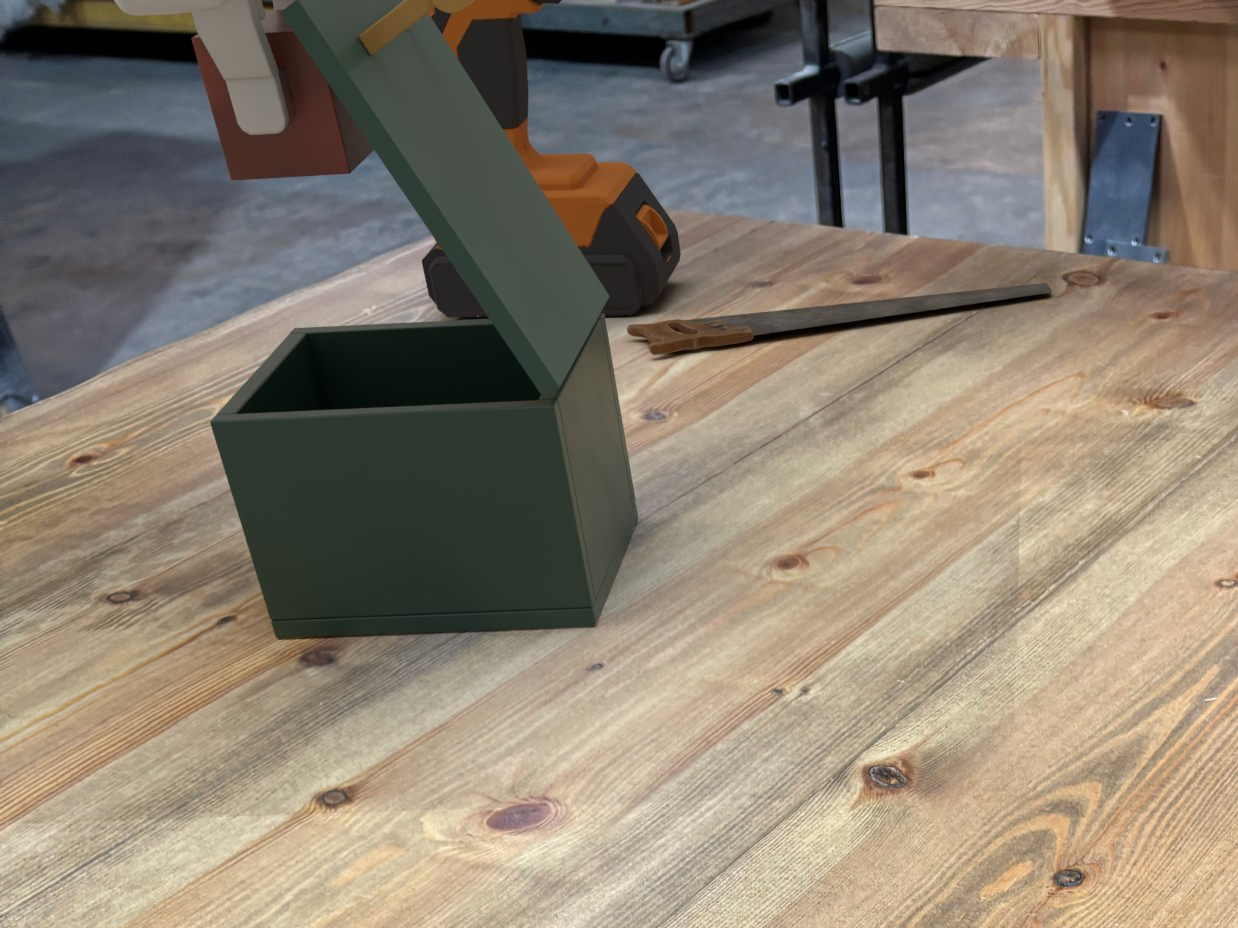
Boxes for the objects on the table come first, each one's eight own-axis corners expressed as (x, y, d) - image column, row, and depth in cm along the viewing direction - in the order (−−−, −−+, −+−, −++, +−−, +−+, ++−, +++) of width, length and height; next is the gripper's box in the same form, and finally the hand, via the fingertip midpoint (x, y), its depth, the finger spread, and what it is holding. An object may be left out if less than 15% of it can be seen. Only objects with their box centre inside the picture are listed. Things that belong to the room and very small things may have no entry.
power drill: (787, 275, 116) (731, -256, 99) (766, 314, 111) (703, -241, 94) (440, 285, 119) (327, -232, 102) (403, 324, 113) (277, -216, 96)
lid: (279, 12, 66) (405, -87, 64) (367, -47, 75) (480, -135, 73) (543, 398, 75) (661, 321, 73) (595, 306, 83) (702, 235, 81)
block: (230, 181, 73) (190, 37, 70) (266, 150, 76) (230, 12, 73) (350, 174, 73) (315, 29, 70) (381, 144, 76) (349, 5, 73)
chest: (275, 639, 81) (208, 421, 75) (348, 531, 90) (293, 327, 84) (596, 626, 81) (553, 405, 75) (638, 518, 89) (604, 312, 83)
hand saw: (1030, 275, 114) (1030, 262, 113) (1057, 296, 110) (1057, 283, 110) (626, 334, 109) (624, 322, 109) (642, 358, 106) (639, 345, 105)
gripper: (180, -377, 72) (289, 58, 81) (-48, -344, 57) (119, 185, 66) (347, -390, 72) (438, 49, 81) (162, -360, 56) (300, 174, 66)
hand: (293, 111), depth 73 cm, fingers closed on block, 4 cm apart
